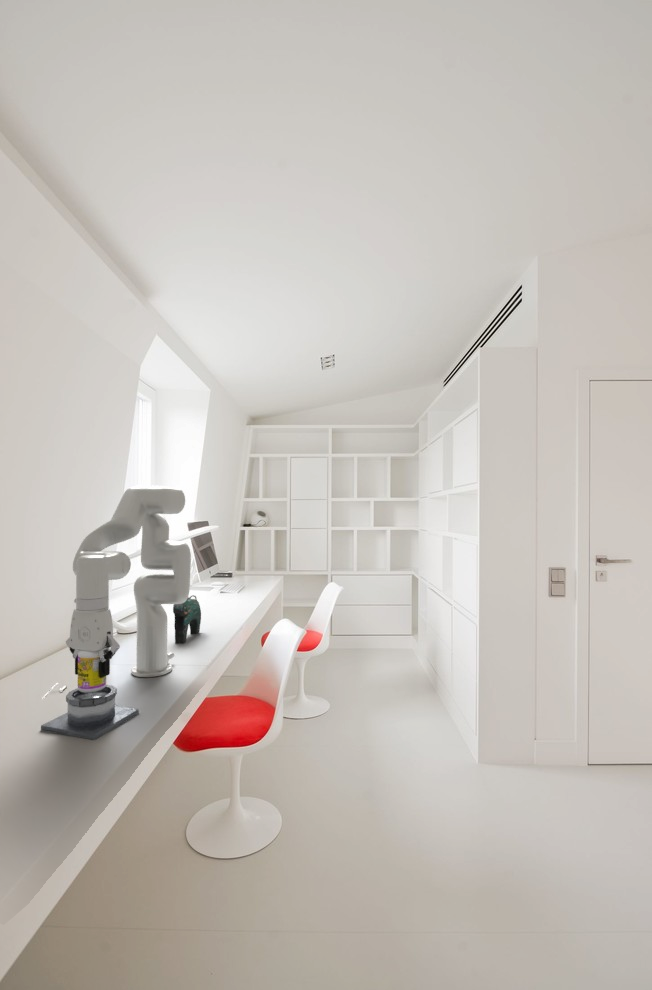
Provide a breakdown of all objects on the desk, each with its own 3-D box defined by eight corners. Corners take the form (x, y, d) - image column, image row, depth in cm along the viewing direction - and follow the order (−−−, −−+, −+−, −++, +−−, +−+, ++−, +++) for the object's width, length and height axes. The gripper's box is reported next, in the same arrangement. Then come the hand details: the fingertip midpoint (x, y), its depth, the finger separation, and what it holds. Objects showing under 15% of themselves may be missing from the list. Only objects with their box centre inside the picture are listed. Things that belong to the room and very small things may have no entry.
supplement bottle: (72, 689, 134) (72, 638, 134) (98, 682, 139) (98, 633, 139) (85, 695, 130) (85, 643, 130) (111, 688, 135) (111, 637, 135)
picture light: (56, 684, 163) (56, 677, 163) (71, 683, 163) (72, 676, 163) (40, 701, 149) (40, 693, 149) (56, 700, 150) (57, 693, 150)
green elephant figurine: (184, 645, 205) (184, 593, 205) (168, 644, 206) (168, 592, 206) (203, 632, 225) (204, 585, 225) (189, 631, 226) (189, 584, 226)
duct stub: (89, 706, 144) (89, 678, 144) (138, 713, 139) (138, 685, 139) (40, 730, 129) (41, 699, 129) (94, 739, 124) (94, 708, 124)
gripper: (53, 604, 134) (53, 675, 134) (110, 609, 128) (110, 683, 128) (76, 599, 141) (76, 666, 141) (130, 603, 135) (130, 673, 135)
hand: (92, 673), depth 135 cm, fingers closed on supplement bottle, 6 cm apart
